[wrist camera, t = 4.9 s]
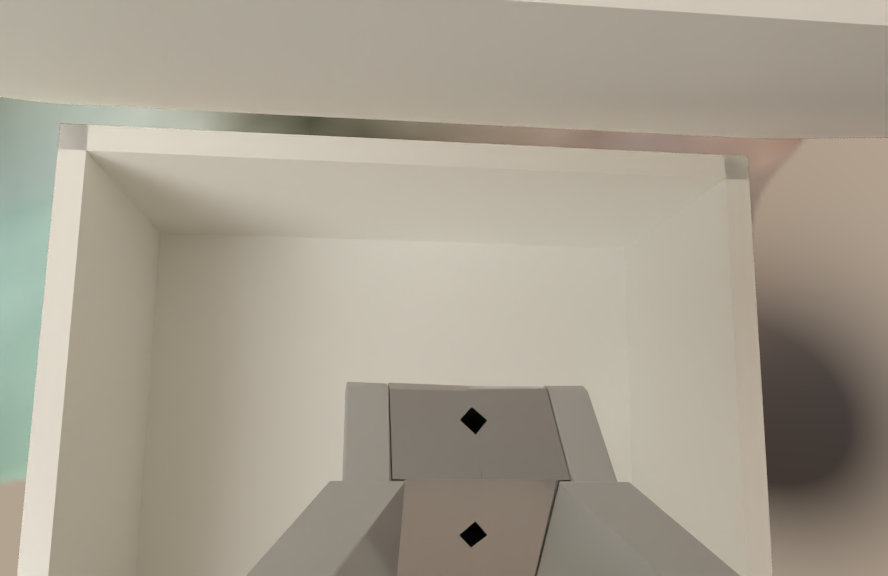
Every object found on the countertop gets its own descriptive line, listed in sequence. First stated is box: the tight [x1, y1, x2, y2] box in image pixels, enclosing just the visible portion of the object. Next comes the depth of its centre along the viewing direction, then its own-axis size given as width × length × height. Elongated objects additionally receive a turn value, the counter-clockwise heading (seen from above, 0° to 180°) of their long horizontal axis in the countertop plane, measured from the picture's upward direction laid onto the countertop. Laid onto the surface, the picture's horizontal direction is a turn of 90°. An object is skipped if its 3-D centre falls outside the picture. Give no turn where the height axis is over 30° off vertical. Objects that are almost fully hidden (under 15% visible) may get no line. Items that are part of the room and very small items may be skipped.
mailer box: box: [17, 123, 773, 576], centre depth 22 cm, size 16×16×8 cm
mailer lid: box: [0, 0, 888, 139], centre depth 11 cm, size 16×16×1 cm
